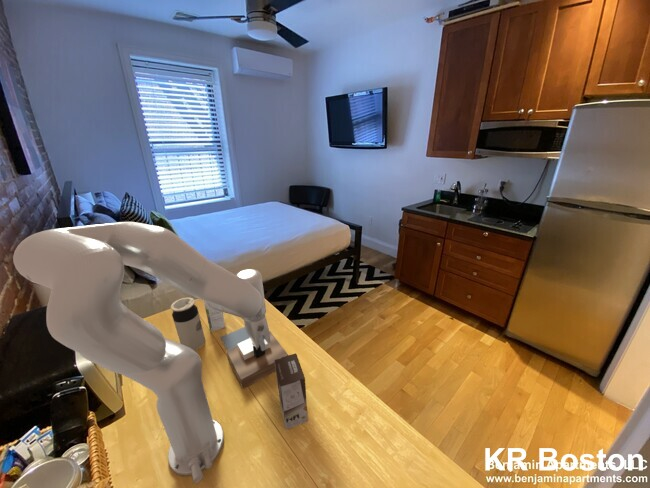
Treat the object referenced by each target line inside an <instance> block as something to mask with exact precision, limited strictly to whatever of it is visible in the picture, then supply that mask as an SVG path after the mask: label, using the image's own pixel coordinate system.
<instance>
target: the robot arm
mask: <svg viewBox="0 0 650 488" xmlns="http://www.w3.org/2000/svg"><path fill="white" fill-rule="evenodd" d="M12 259H13V260H12V261H13V262H12V263H13V265H14V267H15V269H16V271H17V272H18V273H19V274H20V275H21V276H22V277H23V278H25V279H26V280H28V281H30V282H31V283H32V282H33V283H35V284H37V285H39V286H42V287H45V288H47V289H50V294H49V298H48V303H47V306H46V314H45V315H46V316H45V317H46V318H45V319H46V321H45V322H46V327H47V330H48V333H49V334H50V335H51V337H52V338H53V339H54V340H55V341H57V342H58V343H60V344H61V345H63V346H65V347H66V348H68V349H70V350H72V351H74V352H76V353H78V354H79V355H80V356H81V357H82V358H84V359H85V360H87V361H89V362H90V363H93V364H95V365H97V366H99V367H100V368H103V369H105V370H106V371H110V372H112V373H115V374H119V375H121V376H124V377H125V378H128V379H129V380H132V381H133V382H136V383H137V384H140V385H142V386H143V387H145V388H147V389H148V390H150V391H152V392H153V394H155V395H156V398H157V400H156V410H157V414H158V416H159V419H160V421H161V423H162V426H163V428H164V430H165V433H166V436H167V438H168V441H169V443H170V445H169V450H168V453H167V454H168V455H167V460H168V465H169V467H170V468H171V470H172V471H173V472H174V473H175V474H178V475H180V476H192V480H193V483H195V484H196V483H199V482H200V481H202V479H203V478H204V473H203V470H205V469H206V470H208V469H210V468H211V467H212V466H213V462H214V460H215V459H216V458H217V456H218V455H219V453H220V452H221V450H222V448H223V444H224V436H225V435H224V429H223V427H222V425H221V423H220V422H218V420H215V419H213V416H212V412H211V409H210V405H209V401H208V397H207V394H206V391H205V386H204V381H203V372H202V371H203V370H202V369H203V363H202V359H201V356H200V355H199V354H198V353H197V351H196V350H192V349H191V348H189V347H187V346H185V345H182V344H180V342H178V341H174V340H172V339H169V338H166V337H165V336H164V335H163V332H162V331H161V330H160V329H159V328H158V327H156V325H154V324H153V323H152V322H149V321H148V320H146V319H144V318H142V317H140V315H138V314H136V313H135V312H133V311H131V309H129V308H128V307H127V306H126V305H125V304H123V303H122V302H121V300H120V292H121V288H122V284H123V281H124V278H125V266H129V267H131V268H135V269H139V270H141V271H143V272H145V273H146V274H149V275H150V276H152V277H154V278H156V279H158V280H160V281H162V282H164V283H165V284H168V285H170V287H171V286H172V288H174V289H176V290H178V291H180V292H182V293H183V294H185V295H188V296H191V297H193V298H196V299H199V300H203V301H204V300H205V301H207V303H208V305H209V306H210V307H211V308H213V309H215V310H218V311H221V312H223V314H224V313H225V314H229V315H232V316H235V317H239V318H241V319H242V320H243V324H244V327H245V329H246V332H247V334H248V336H249V337H250V339H251V341H252V344H253V350H254V355H255V357H256V358H258V357H260V356H263V355H265V350H266V346H265V342H264V340H266V342H267V343H270V342H271V338H270V333H269V331H270V328H269V324H268V320H267V317H266V313H267V307H266V301H265V292H264V285H263V277H262V274H261V272H260V271H259V270H257V269H254V268H245V269H243V270H240V271H239V272H237V273H236V274H234V273H233V272H231V271H229V270H227V269H226V268H224V267H222V266H220V265H219V264H217V263H215V262H213V261H211V260H210V259H209V258H207V257H205V256H204V255H203V254H202V253H201V252H199V251H197V250H196V249H195V248H194V247H192V246H191V245H190V244H189V243H187V242H186V241H185V240H183V238H181V237H180V236H178V235H177V234H176V233H174V232H173V231H171V230H170V229H168V228H166V227H162V226H159V225H155V224H154V225H153V224H147V223H141V222H135V221H118V222H110V223H109V222H108V223H100V224H90V225H82V226H81V225H80V226H72V227H71V226H70V227H61V228H53V229H46V230H42V231H39V232H35V233H33V234H30V235H29V236H27V237H26V238H24V239H23V240H22V241H21V242H19V244H18V245H17V246H16V248H15V250H14V253H13V258H12Z"/></svg>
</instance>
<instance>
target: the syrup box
mask: <svg viewBox="0 0 650 488" xmlns="http://www.w3.org/2000/svg"><path fill="white" fill-rule="evenodd" d="M203 303H204V310H205V314H206V319H207V323H208V328H209V332H215V331H218V330H222V329H224V328H226V323H225V318H224V312H221V311H218V310H215V309H213V308H211V307H210V306H209V305H208V303H207V301H205V300H203Z"/></svg>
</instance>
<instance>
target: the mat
mask: <svg viewBox="0 0 650 488" xmlns="http://www.w3.org/2000/svg"><path fill="white" fill-rule="evenodd" d="M249 338H250V337H249V336H248V334H247V332H246V329H245V326H244V327H241V328H239V329H236V330H234V331H231V332H229V333H227V334H225V335H222V336H220V339H221V341H222V343H223V345H224V347H225V349H226V351H227V350H229V349H232V348H234V347H236V346H237V344H238V343H240V342H243V341H245V340H247V339H249Z"/></svg>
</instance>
